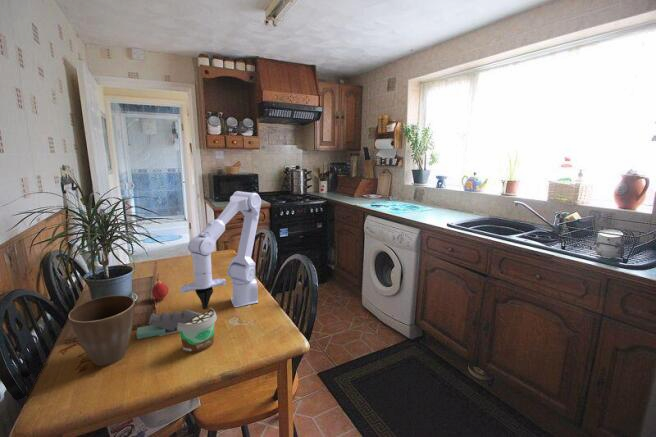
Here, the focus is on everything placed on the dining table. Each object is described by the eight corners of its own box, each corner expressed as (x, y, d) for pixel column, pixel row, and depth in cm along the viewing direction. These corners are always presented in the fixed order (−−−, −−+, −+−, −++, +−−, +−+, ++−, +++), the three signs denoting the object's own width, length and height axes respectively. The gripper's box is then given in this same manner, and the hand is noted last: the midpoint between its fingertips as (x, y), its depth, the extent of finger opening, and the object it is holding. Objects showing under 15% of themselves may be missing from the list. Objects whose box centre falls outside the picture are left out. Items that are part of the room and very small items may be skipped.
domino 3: (185, 319, 109) (163, 311, 105) (186, 325, 105) (163, 318, 101) (183, 323, 109) (160, 316, 105) (184, 329, 105) (160, 322, 101)
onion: (162, 304, 122) (160, 284, 120) (149, 302, 123) (147, 283, 121) (172, 297, 128) (170, 279, 126) (159, 295, 129) (158, 277, 127)
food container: (191, 361, 89) (189, 330, 87) (178, 354, 93) (176, 323, 91) (226, 340, 100) (225, 311, 98) (213, 334, 103) (212, 306, 101)
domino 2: (175, 320, 107) (152, 313, 103) (176, 327, 104) (152, 319, 100) (173, 325, 107) (149, 317, 103) (173, 331, 103) (149, 323, 100)
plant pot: (133, 369, 86) (127, 316, 82) (67, 381, 81) (57, 325, 77) (144, 339, 99) (139, 292, 96) (87, 348, 94) (80, 299, 91)
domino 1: (165, 322, 106) (137, 327, 102) (165, 328, 102) (136, 334, 98) (165, 326, 106) (138, 332, 103) (165, 333, 102) (137, 339, 99)
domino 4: (196, 317, 110) (173, 310, 106) (197, 323, 107) (174, 316, 103) (193, 321, 110) (171, 314, 106) (194, 327, 106) (171, 320, 103)
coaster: (178, 323, 109) (178, 322, 109) (179, 332, 104) (179, 331, 104) (158, 327, 106) (158, 326, 106) (158, 336, 101) (158, 336, 101)
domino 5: (206, 315, 112) (184, 308, 108) (207, 321, 108) (185, 314, 104) (203, 319, 112) (182, 312, 108) (205, 325, 108) (182, 318, 104)
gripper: (221, 264, 113) (223, 298, 116) (177, 270, 106) (180, 307, 109) (226, 270, 107) (228, 306, 110) (180, 278, 100) (183, 316, 103)
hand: (204, 307), depth 109 cm, fingers closed
